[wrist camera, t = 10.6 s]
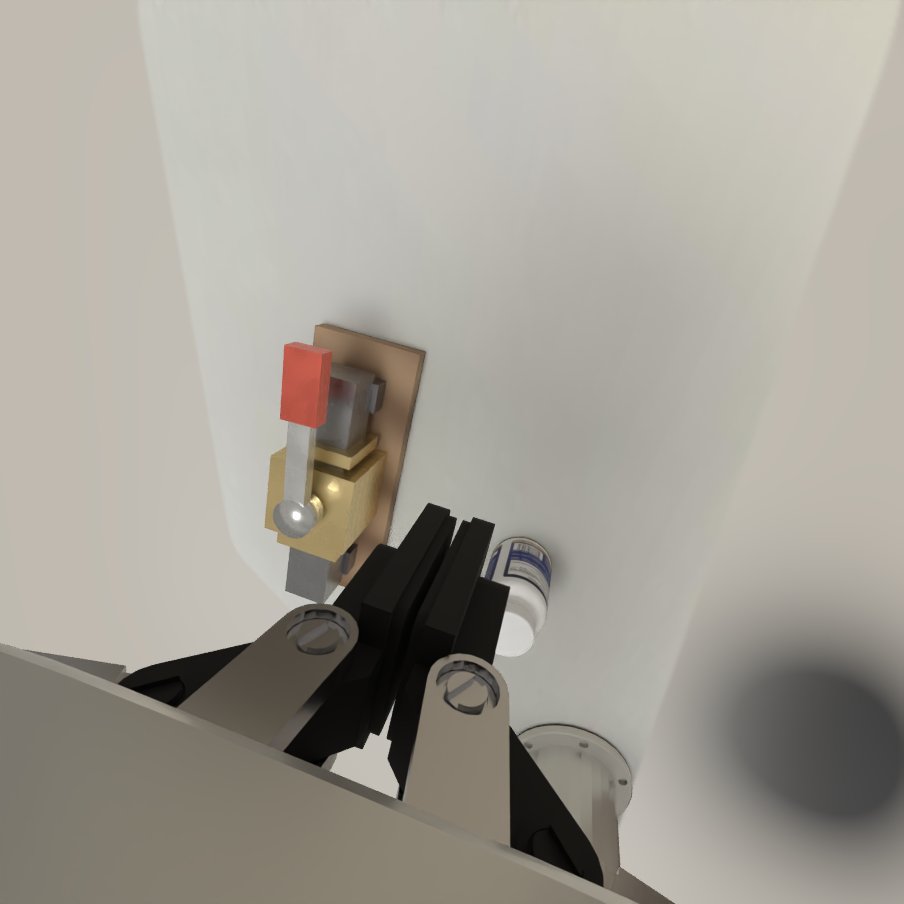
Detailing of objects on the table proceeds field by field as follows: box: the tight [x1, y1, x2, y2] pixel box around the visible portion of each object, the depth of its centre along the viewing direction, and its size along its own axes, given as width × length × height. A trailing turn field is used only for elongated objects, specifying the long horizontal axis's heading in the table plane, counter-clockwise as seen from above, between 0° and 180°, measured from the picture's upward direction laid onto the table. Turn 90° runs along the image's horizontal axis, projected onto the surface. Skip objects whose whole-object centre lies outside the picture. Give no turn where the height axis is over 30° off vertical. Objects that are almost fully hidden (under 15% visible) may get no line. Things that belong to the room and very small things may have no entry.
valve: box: [265, 362, 388, 604], centre depth 41 cm, size 20×7×7 cm, turn 167°
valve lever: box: [273, 342, 332, 539], centre depth 35 cm, size 14×3×2 cm, turn 169°
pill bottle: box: [485, 538, 551, 657], centre depth 41 cm, size 5×5×10 cm
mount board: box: [313, 324, 425, 587], centre depth 45 cm, size 24×9×2 cm, turn 167°
